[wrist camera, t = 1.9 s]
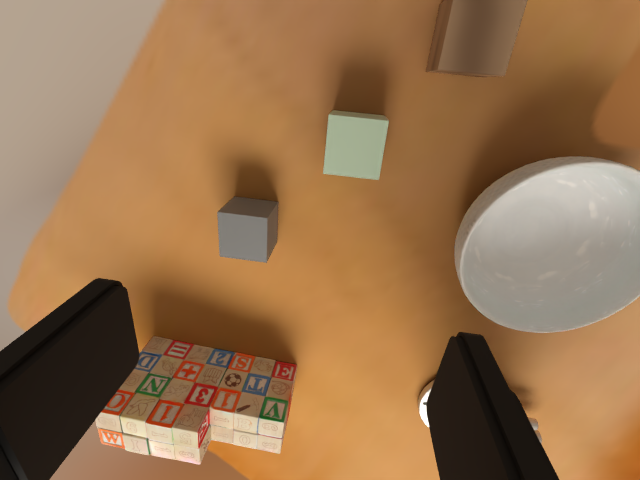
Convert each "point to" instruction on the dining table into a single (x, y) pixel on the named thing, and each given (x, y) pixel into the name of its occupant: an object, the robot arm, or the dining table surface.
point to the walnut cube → (475, 37)
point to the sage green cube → (355, 144)
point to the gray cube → (248, 229)
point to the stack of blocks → (198, 402)
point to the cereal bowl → (553, 244)
